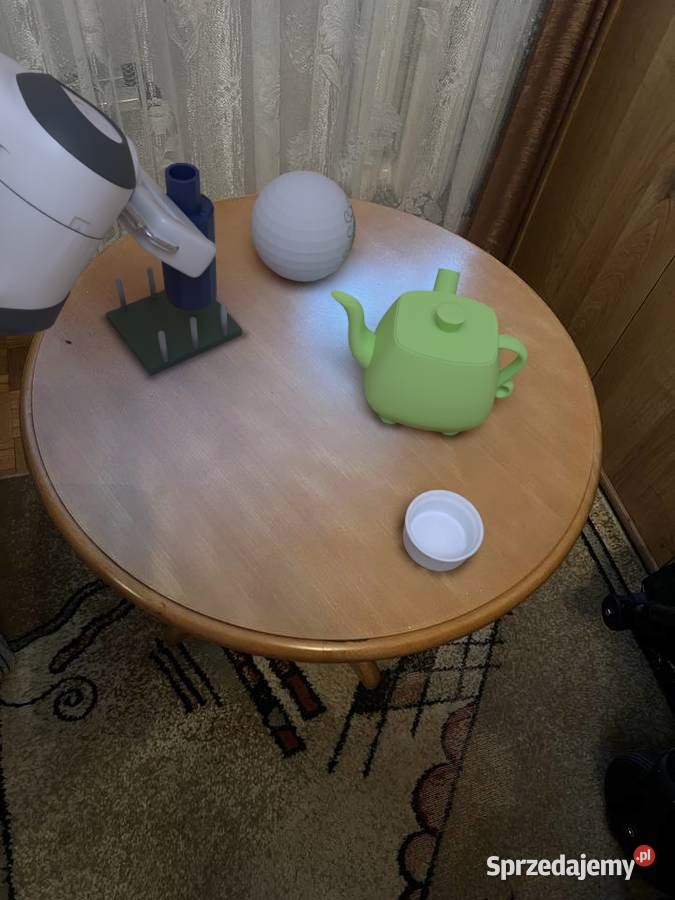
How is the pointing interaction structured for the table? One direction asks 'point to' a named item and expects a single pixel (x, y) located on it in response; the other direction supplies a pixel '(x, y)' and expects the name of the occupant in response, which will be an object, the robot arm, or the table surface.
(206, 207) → the bottle
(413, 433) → the table surface
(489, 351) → the teapot
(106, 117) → the robot arm
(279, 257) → the decorative object
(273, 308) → the table surface
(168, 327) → the rack
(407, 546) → the ramekin
